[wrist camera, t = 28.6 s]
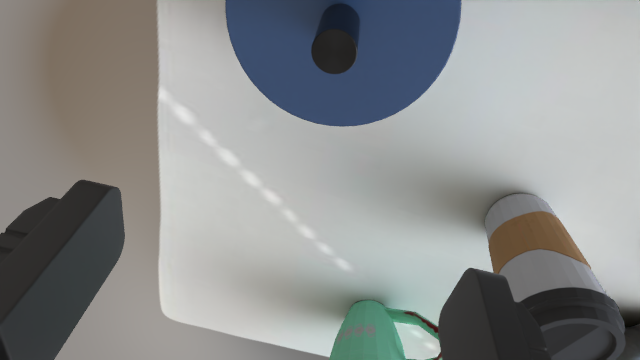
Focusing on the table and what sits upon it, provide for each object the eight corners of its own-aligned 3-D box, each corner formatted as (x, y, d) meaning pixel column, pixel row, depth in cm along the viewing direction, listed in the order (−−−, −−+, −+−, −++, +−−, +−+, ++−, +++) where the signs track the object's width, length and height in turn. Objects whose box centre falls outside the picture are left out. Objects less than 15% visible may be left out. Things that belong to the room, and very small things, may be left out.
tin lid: (241, -150, 22) (203, -154, 17) (500, -82, 22) (535, -69, 17) (222, 93, 30) (193, 137, 25) (412, 138, 30) (420, 188, 25)
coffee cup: (457, 225, 45) (487, 356, 33) (511, 169, 41) (569, 297, 29) (520, 255, 47) (571, 389, 35) (579, 204, 42) (662, 340, 30)
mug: (350, 340, 59) (346, 414, 51) (317, 297, 55) (308, 372, 47) (455, 318, 54) (469, 396, 46) (428, 268, 50) (440, 346, 42)
